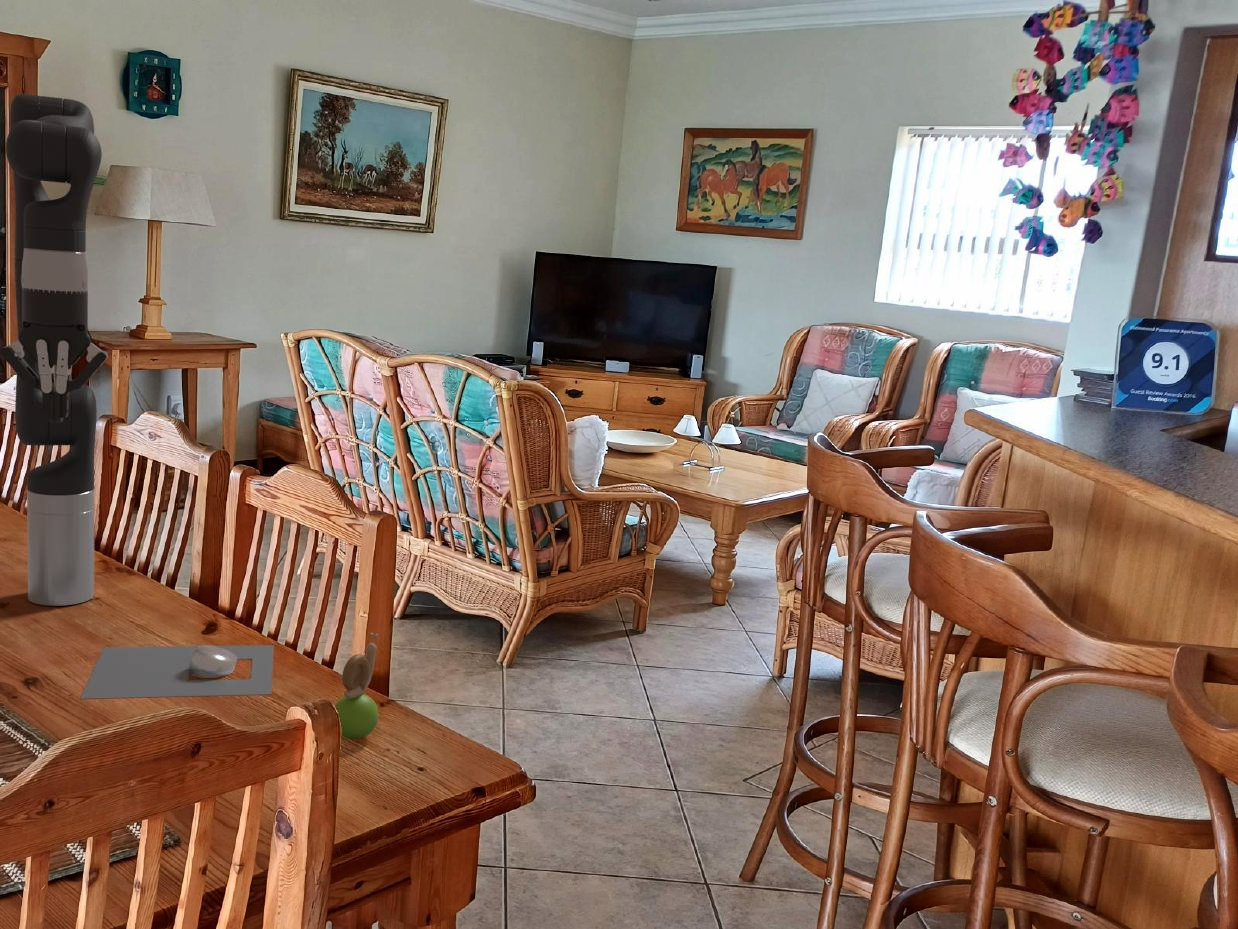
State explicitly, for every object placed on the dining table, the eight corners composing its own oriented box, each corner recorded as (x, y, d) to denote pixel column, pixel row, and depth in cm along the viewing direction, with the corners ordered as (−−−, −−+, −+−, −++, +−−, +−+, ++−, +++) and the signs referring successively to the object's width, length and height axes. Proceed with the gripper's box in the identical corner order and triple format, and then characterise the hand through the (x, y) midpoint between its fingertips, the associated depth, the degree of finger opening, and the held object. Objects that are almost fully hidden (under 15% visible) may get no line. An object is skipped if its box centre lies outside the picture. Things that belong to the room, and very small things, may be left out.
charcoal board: (80, 710, 138) (80, 698, 138) (103, 657, 155) (103, 647, 155) (271, 705, 144) (271, 694, 144) (273, 655, 161) (274, 645, 161)
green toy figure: (390, 731, 139) (394, 636, 137) (361, 750, 133) (366, 652, 131) (351, 722, 141) (355, 628, 139) (321, 741, 135) (325, 644, 133)
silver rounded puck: (191, 662, 152) (199, 641, 152) (232, 674, 153) (240, 653, 153) (183, 676, 147) (191, 654, 146) (226, 688, 148) (234, 667, 148)
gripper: (116, 288, 151) (115, 418, 154) (4, 281, 147) (6, 414, 150) (107, 291, 144) (106, 428, 147) (-11, 283, 140) (-9, 423, 143)
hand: (55, 421), depth 149 cm, fingers closed
